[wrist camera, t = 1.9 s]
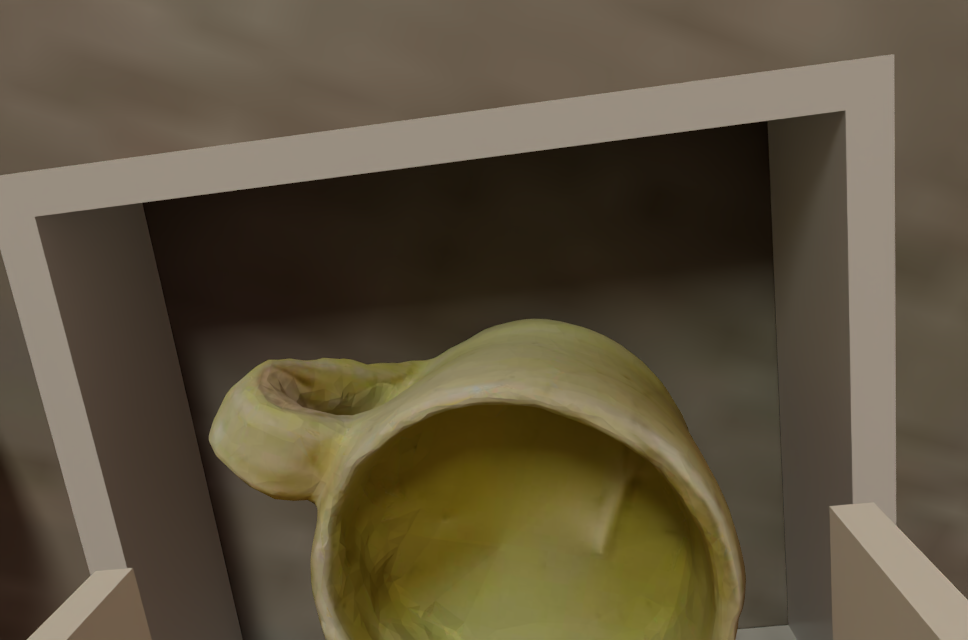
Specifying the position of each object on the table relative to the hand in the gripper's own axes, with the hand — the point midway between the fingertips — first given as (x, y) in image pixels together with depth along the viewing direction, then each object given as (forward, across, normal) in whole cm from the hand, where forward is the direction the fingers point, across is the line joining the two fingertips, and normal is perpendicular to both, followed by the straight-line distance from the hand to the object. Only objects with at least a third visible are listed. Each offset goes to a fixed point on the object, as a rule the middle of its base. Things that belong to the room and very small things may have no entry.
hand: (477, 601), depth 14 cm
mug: (+10, 0, 0) cm, 10 cm away
